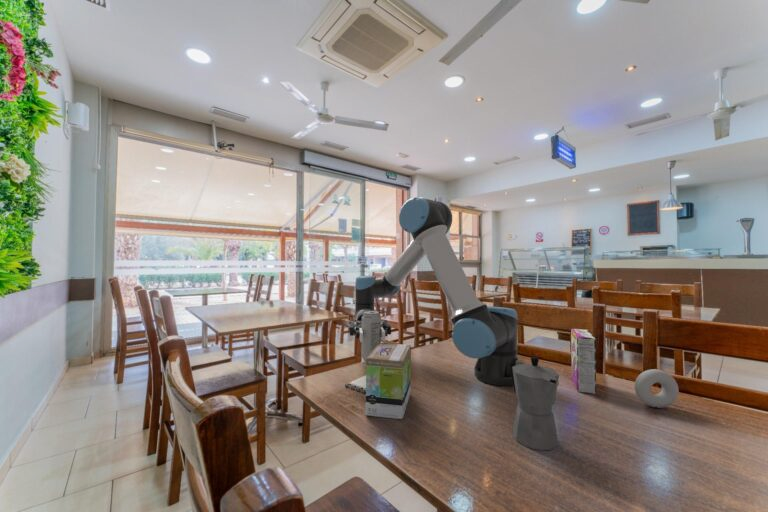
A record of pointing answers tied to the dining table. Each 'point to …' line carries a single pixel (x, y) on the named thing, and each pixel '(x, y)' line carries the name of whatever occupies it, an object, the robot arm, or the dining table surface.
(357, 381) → the pad
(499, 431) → the dining table surface
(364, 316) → the energy drink can
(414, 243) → the robot arm
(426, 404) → the dining table surface
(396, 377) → the tea box
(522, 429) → the coffeepot
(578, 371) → the candy bar box
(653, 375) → the donut
